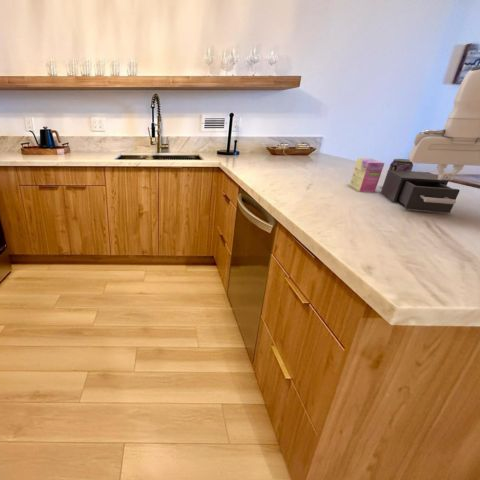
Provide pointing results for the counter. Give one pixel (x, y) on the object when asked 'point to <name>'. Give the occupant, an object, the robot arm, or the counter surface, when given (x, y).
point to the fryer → (397, 177)
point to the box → (366, 174)
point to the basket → (427, 196)
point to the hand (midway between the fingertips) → (444, 179)
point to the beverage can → (401, 165)
